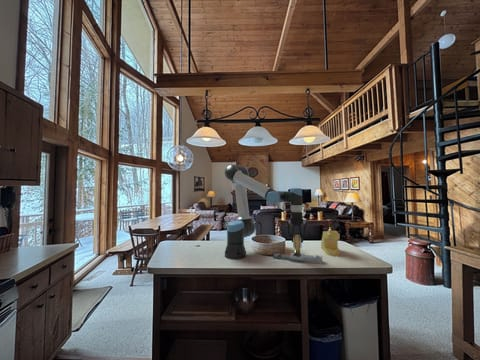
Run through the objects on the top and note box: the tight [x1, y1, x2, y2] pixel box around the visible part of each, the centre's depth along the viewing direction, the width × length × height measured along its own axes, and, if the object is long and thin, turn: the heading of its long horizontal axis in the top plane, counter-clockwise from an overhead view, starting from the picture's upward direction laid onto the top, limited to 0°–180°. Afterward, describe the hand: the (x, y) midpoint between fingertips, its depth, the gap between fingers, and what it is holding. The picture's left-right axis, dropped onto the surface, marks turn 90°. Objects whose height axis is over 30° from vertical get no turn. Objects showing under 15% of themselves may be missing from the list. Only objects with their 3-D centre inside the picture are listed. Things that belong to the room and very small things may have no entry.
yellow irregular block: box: [320, 230, 341, 257], centre depth 160 cm, size 20×9×16 cm, turn 172°
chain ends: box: [272, 252, 324, 265], centre depth 142 cm, size 31×9×4 cm, turn 68°
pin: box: [294, 234, 301, 255], centre depth 142 cm, size 4×4×12 cm
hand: (297, 247), depth 142 cm, fingers closed on pin, 3 cm apart
